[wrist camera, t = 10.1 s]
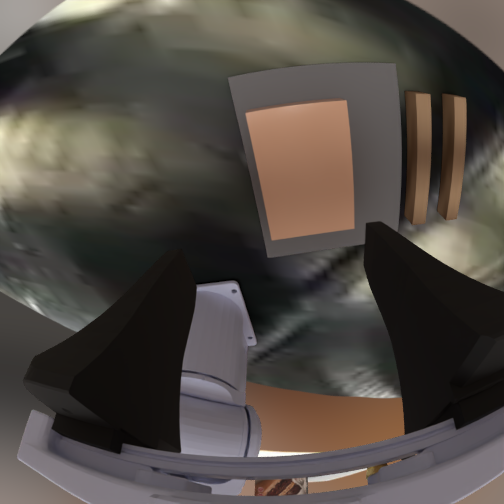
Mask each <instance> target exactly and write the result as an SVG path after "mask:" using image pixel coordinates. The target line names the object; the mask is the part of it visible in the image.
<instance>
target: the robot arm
mask: <svg viewBox="0 0 504 504" xmlns="http://www.w3.org/2000/svg"><path fill="white" fill-rule="evenodd" d="M364 268H365V272H366V275H367V279H368V282H369V285H370V288H371V291H372V293H373V295H374V298H375V300H376V303H377V305H378V307H379V310H380V312H381V315H382V317H383V320H384V322H385V325H386V327H387V330H388V333H389V336H390V339H391V342H392V346H393V351H394V355H395V359H396V364H397V369H398V374H399V380H400V386H401V394H402V402H403V412H404V429H405V435H403V436H399V437H395V438H392V439H388V440H384V441H380V442H376V443H372V444H368V445H363V446H358V447H353V448H347V449H341V450H335V451H328V452H321V453H313V454H304V455H293V456H277V457H258V454H259V450H260V445H261V434H262V432H261V422H260V419H259V417H258V415H257V413H256V411H255V409H254V408H253V407H252V406H250V405H246V404H245V400H246V393H245V389H246V373H247V352H248V346H253V345H256V344H257V339H256V336H255V333H254V330H253V327H252V324H251V321H250V318H249V315H248V312H247V309H246V305H245V302H244V299H243V296H242V293H241V290H240V286H239V284H238V282H236V281H225V282H217V283H208V284H200V285H196V283H195V281H194V278H193V276H192V274H191V271H190V269H189V266H188V264H187V261H186V259H185V256H184V254H183V251H182V249H178V250H172V251H167V252H166V253H165V254H164V255H163V256H162V257H161V258H160V259H159V260H158V261H156V263H155V264H154V265H153V266H152V267H151V268H150V269H149V270H148V271H147V272H146V273H145V274H144V275H143V276H142V277H141V278H140V279H139V280H138V281H137V282H136V283H135V284H134V285H133V286H132V287H131V288H130V289H129V290H128V291H127V292H126V293H125V294H124V295H123V296H122V297H121V298H120V299H119V300H118V301H117V302H115V303H114V304H113V305H112V306H111V307H110V308H109V309H107V310H106V311H105V312H104V313H103V314H101V315H100V316H99V317H98V318H96V319H95V320H94V321H92V322H91V323H90V324H88V325H87V326H86V327H84V328H83V329H82V330H80V331H79V332H77V333H76V334H74V335H73V336H71V337H70V338H68V339H66V340H65V341H63V342H62V343H60V344H58V345H56V346H54V347H52V348H50V349H48V350H46V351H45V352H43V353H41V354H39V355H37V356H35V357H34V358H33V360H32V362H31V364H30V366H29V368H28V370H27V373H26V375H25V377H24V379H23V383H24V386H25V387H26V389H27V390H28V391H29V392H30V393H31V394H33V395H34V396H35V397H36V398H37V399H39V400H40V401H41V402H43V403H44V404H45V405H46V406H48V407H49V408H50V409H52V410H53V411H54V412H56V417H55V419H54V418H52V417H50V416H48V415H46V414H43V413H41V412H38V411H36V410H32V411H31V414H30V417H29V419H28V422H27V425H26V429H25V431H24V435H23V438H22V441H21V444H20V448H19V451H18V455H17V458H18V459H19V460H20V461H22V462H23V463H25V464H26V465H28V466H29V467H31V468H32V469H34V470H35V471H37V472H38V473H40V474H41V475H43V476H44V477H46V478H47V479H49V480H50V481H52V482H53V483H55V484H56V485H58V486H59V487H61V488H62V489H64V490H65V491H67V492H69V493H70V494H72V495H74V496H75V497H77V498H79V499H81V500H83V501H85V502H86V503H88V504H454V503H456V502H458V501H460V500H461V499H463V498H465V497H467V496H468V495H470V494H472V493H473V492H475V491H477V490H478V489H480V488H481V487H483V486H485V485H486V484H488V483H489V482H491V481H492V480H493V479H495V478H496V477H498V476H499V475H501V474H502V473H503V472H504V292H502V291H500V290H497V289H494V288H492V287H489V286H487V285H485V284H482V283H480V282H478V281H476V280H474V279H472V278H470V277H468V276H466V275H464V274H462V273H460V272H458V271H456V270H455V269H453V268H451V267H449V266H447V265H446V264H444V263H442V262H441V261H439V260H437V259H436V258H434V257H433V256H431V255H430V254H428V253H427V252H425V251H424V250H422V249H421V248H419V247H418V246H416V245H415V244H413V243H412V242H410V241H409V240H408V239H406V238H405V237H403V236H402V235H401V234H399V233H398V232H396V231H395V230H393V229H392V228H391V227H389V226H388V225H386V224H384V223H383V222H381V221H377V222H369V223H366V230H365V251H364ZM233 289H235V290H236V291H234V290H233ZM415 454H417V455H415ZM412 455H415V456H412ZM409 456H412V457H410V458H407V459H405V460H402V461H399V462H397V463H393V464H391V465H388V466H384V467H381V468H380V469H379V472H377V473H375V474H373V475H370V476H369V477H368V478H367V479H368V485H366V486H361V487H355V488H350V489H344V490H337V491H330V492H322V493H312V494H301V495H284V496H236V495H238V494H240V493H241V490H242V487H243V486H244V484H245V481H246V480H275V479H293V478H305V477H315V476H323V475H330V474H337V473H343V472H349V471H354V470H359V469H364V468H368V467H373V466H377V465H381V464H385V463H388V462H392V461H395V460H399V459H403V458H406V457H409Z"/></svg>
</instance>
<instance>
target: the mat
mask: <svg viewBox="0 0 504 504" xmlns="http://www.w3.org/2000/svg"><path fill="white" fill-rule="evenodd" d="M228 81H229V85H230V89H231V94H232V98H233V102H234V107H235V111H236V115H237V119H238V124H239V128H240V133H241V137H242V141H243V146H244V150H245V155H246V159H247V164H248V168H249V173H250V177H251V182H252V186H253V191H254V195H255V200H256V204H257V209H258V214H259V218H260V223H261V228H262V232H263V237H264V242H265V246H266V251H267V256H268V258H272V257H279V256H286V255H293V254H300V253H307V252H313V251H320V250H327V249H334V248H341V247H347V246H354V245H361V244H365V230H366V223H369V222H377V221H381V222H383V223H384V224H386V225H388V226H389V227H391V228H392V229H393V230H395V231H396V232H398V223H399V211H400V195H401V165H402V146H401V117H400V102H399V90H398V81H397V72H396V65H395V64H394V63H330V64H315V65H304V66H294V67H286V68H278V69H271V70H265V71H259V72H253V73H248V74H243V75H238V76H233V77H228ZM334 98H341V99H344V100H347V108H348V117H349V127H350V138H351V150H352V165H353V184H354V229H348V230H341V231H334V232H327V233H320V234H313V235H306V236H299V237H292V238H286V239H279V240H272V239H271V234H270V229H269V224H268V219H267V214H266V209H265V204H264V199H263V194H262V189H261V184H260V179H259V175H258V170H257V165H256V160H255V155H254V151H253V146H252V141H251V137H250V132H249V128H248V123H247V119H246V114H245V113H246V110H250V109H255V108H261V107H267V106H273V105H280V104H287V103H294V102H302V101H311V100H322V99H334Z"/></svg>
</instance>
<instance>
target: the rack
mask: <svg viewBox="0 0 504 504" xmlns="http://www.w3.org/2000/svg"><path fill="white" fill-rule="evenodd" d="M405 102H406V118H407V183H406V200H405V213H404V215H405V216H406V218H407V219H408V220H409V221H410V223H411V224H412V225H417V224H424V223H425V219H426V211H427V203H428V193H429V181H430V166H431V101H430V94H427V93H422V92H416V91H405ZM442 102H443V152H442V169H441V181H440V191H439V200H438V208H437V211H438V212H439V213H440V215H441V216H442V217H443V218H444V219H445V220H453V219H457V214H458V208H459V202H460V196H461V189H462V181H463V172H464V161H465V146H466V98H464V97H460V96H456V95H452V94H442Z"/></svg>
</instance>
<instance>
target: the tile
mask: <svg viewBox="0 0 504 504" xmlns="http://www.w3.org/2000/svg"><path fill="white" fill-rule="evenodd" d="M245 114H246V119H247V123H248V128H249V132H250V137H251V141H252V146H253V151H254V155H255V160H256V165H257V170H258V175H259V179H260V184H261V189H262V194H263V199H264V204H265V209H266V214H267V219H268V224H269V229H270V234H271V239H272V240H279V239H286V238H292V237H299V236H306V235H313V234H320V233H327V232H334V231H341V230H348V229H354V184H353V165H352V150H351V138H350V127H349V117H348V108H347V100H344V99H341V98H334V99H322V100H311V101H302V102H294V103H287V104H280V105H273V106H267V107H261V108H255V109H250V110H246V113H245Z"/></svg>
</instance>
